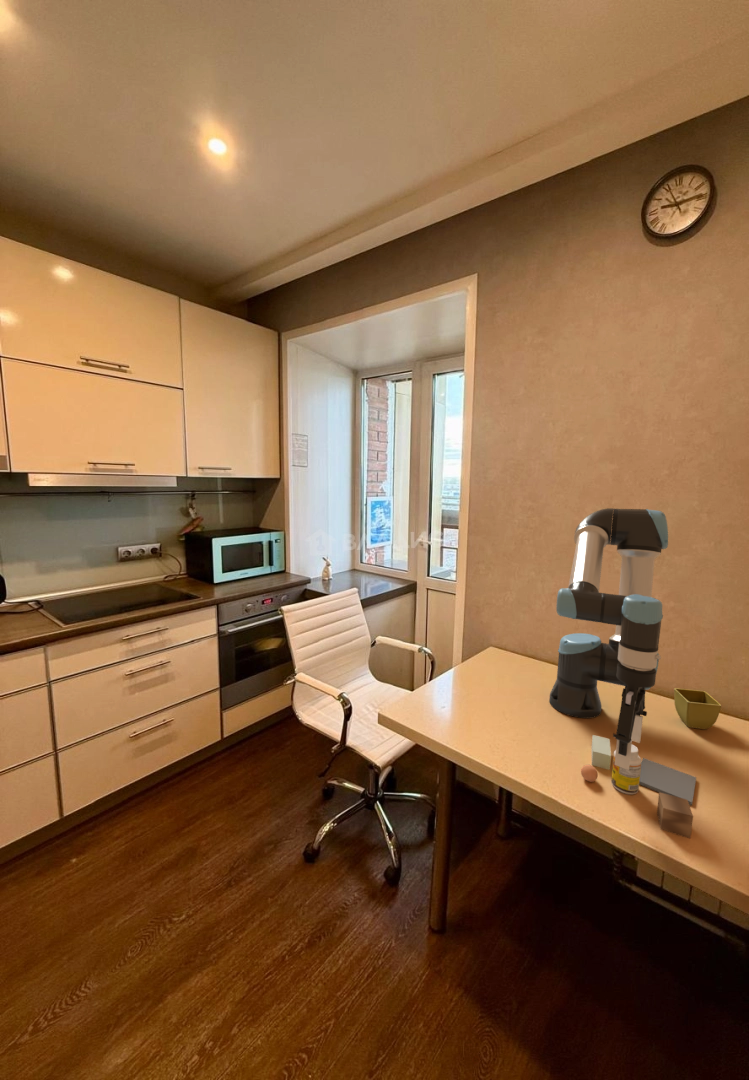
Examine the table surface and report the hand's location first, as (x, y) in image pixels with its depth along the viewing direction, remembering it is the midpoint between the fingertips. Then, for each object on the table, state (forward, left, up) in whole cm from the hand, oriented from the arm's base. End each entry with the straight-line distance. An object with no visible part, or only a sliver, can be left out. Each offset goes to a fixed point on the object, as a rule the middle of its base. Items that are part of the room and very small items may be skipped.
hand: (628, 752), depth 98 cm
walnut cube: (+10, -6, -9) cm, 15 cm away
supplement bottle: (0, 0, -9) cm, 9 cm away
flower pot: (+10, +45, -9) cm, 47 cm away
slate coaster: (+7, +9, -9) cm, 15 cm away
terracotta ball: (-7, -3, -7) cm, 10 cm away
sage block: (-7, +8, -9) cm, 14 cm away
